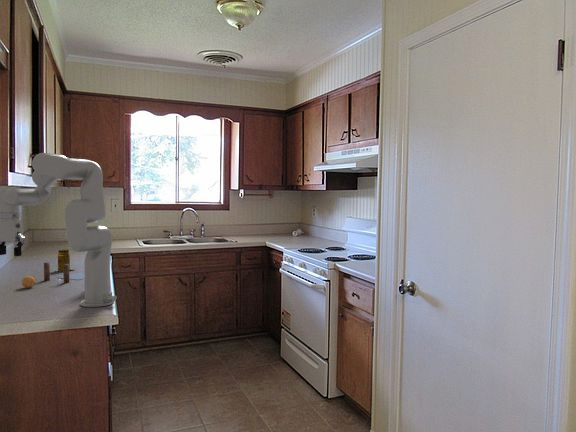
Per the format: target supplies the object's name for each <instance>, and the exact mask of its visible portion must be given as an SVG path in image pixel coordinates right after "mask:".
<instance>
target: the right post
mask: <svg viewBox="0 0 576 432" xmlns="http://www.w3.org/2000/svg"><path fill="white" fill-rule="evenodd" d="M62 273H63V275H62V276H63V278H62V280H63V283H64V284H69V283H70V279H69V275H70V271H69V264H64V265H63V272H62Z"/></svg>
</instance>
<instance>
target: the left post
mask: <svg viewBox="0 0 576 432" xmlns="http://www.w3.org/2000/svg"><path fill="white" fill-rule="evenodd" d="M50 267H51V264H50V262H48V261H47V262H43V282H50V281H51V277H50V276H51V275H50V273H51V271H50V270H51V268H50Z"/></svg>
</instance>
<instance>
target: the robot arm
mask: <svg viewBox="0 0 576 432" xmlns="http://www.w3.org/2000/svg"><path fill="white" fill-rule="evenodd" d="M31 165H32V169H33V171H32V174H31V180H32V182H33V183H34V185H36V186H35V187H34V188H24V187H23V188H17V187H16V188H1V189H0V256H3V255H4V256H5V255H7V245H6V244H7V243H13V246H14V247H13V256H14V257H20V256H22V254H23V253H22V247H23V245H24V244H25V241H26V236H24V232H23V224H22V219H20V216H21V215H20V214H21V213H20V209H21V208H20V207H22V206H23V207H25V206H38V205H40V204H41V203H43V202H44V201H46V200H47V199H48V198H49V197H50V196H51V192H52V185H54V184H55V182H57V181H58V180H71V181H78V180H79V181H82V182H81V184H80V188H79V192H80V198H77V199H73V200H71V201H69V202H68V203H67V204H66V206H65V209H64V221H65V231H66V239H67V243H68V246H69V248H70V249H71V251H73V252H76V253H83V252H86V253H85V257H84V266H83V271H84V273H83V274H84V277H85V279H84V299H82V300H81V301H80V303H79V305H80V306H81V307H86V308H100V307H106V306H109V305H112V304H114V303H115V302H116V300H117V299H118V296H117V295H113V292H112V291H111V250H112V246H113V233H112V231H111V229H110V228H108V227H106V226H104V225H89V226H88V224H93V223H100V222H102V221H104V220H105V218H106V203H105V195H104V189H103V187H104V185H103V184H104V183H103V182H104V181H103V180H104V179H103V178H104V177H103V176H104V175H103V173H104V172H103V170H102V168H101V166H100V165H99V164H98V163H97V162H95V161H93V160H89V159H83V158H72V157H66V155H64V154H63V155H62V154H57V153H49V152H39V153H38V154H36V155H35V156H34V157H33V159H32V162H31Z"/></svg>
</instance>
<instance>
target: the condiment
mask: <svg viewBox="0 0 576 432" xmlns="http://www.w3.org/2000/svg"><path fill="white" fill-rule="evenodd" d="M70 257H71V255H70V250H69V249H58V255H57V271H59V272H60V273H63V265H64V264H69V272H71V271H74V268H73V269H70V268H71V267H70V266H71V265H70V264H71V263H70V262H71V258H70ZM70 270H71V271H70Z"/></svg>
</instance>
